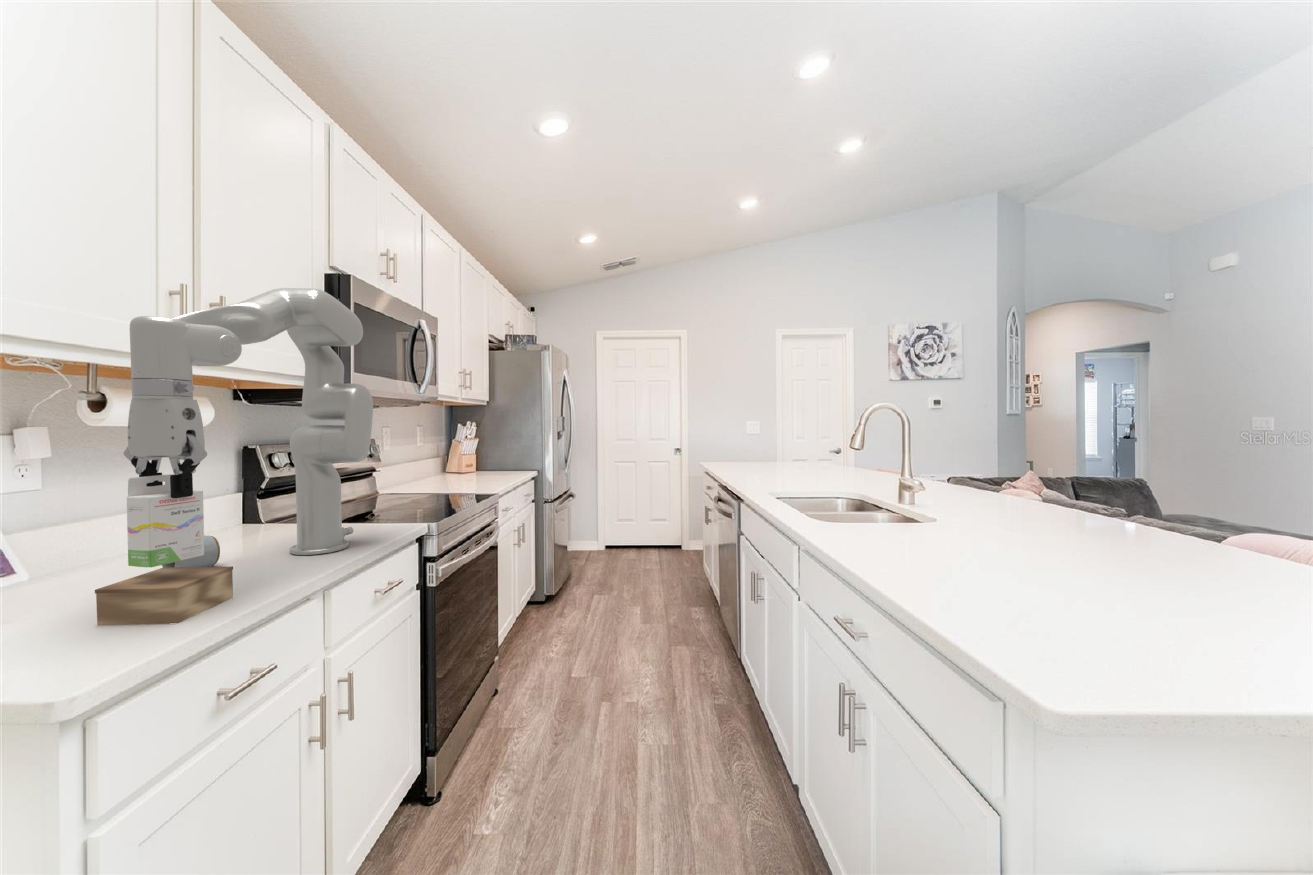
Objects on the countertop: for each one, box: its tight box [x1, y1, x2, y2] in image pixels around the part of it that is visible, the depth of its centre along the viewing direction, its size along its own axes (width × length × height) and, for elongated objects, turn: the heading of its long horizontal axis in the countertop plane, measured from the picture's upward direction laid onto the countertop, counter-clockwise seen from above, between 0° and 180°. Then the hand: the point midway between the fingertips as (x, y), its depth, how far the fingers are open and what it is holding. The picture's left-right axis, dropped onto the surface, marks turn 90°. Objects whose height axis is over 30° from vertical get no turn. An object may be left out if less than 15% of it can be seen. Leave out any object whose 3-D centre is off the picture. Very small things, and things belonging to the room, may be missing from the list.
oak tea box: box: [94, 566, 234, 627], centre depth 88 cm, size 12×12×6 cm
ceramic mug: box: [161, 535, 221, 568], centre depth 112 cm, size 11×8×8 cm
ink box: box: [126, 473, 205, 568], centre depth 87 cm, size 9×5×15 cm, turn 169°
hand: (166, 495), depth 87 cm, fingers closed on ink box, 5 cm apart
